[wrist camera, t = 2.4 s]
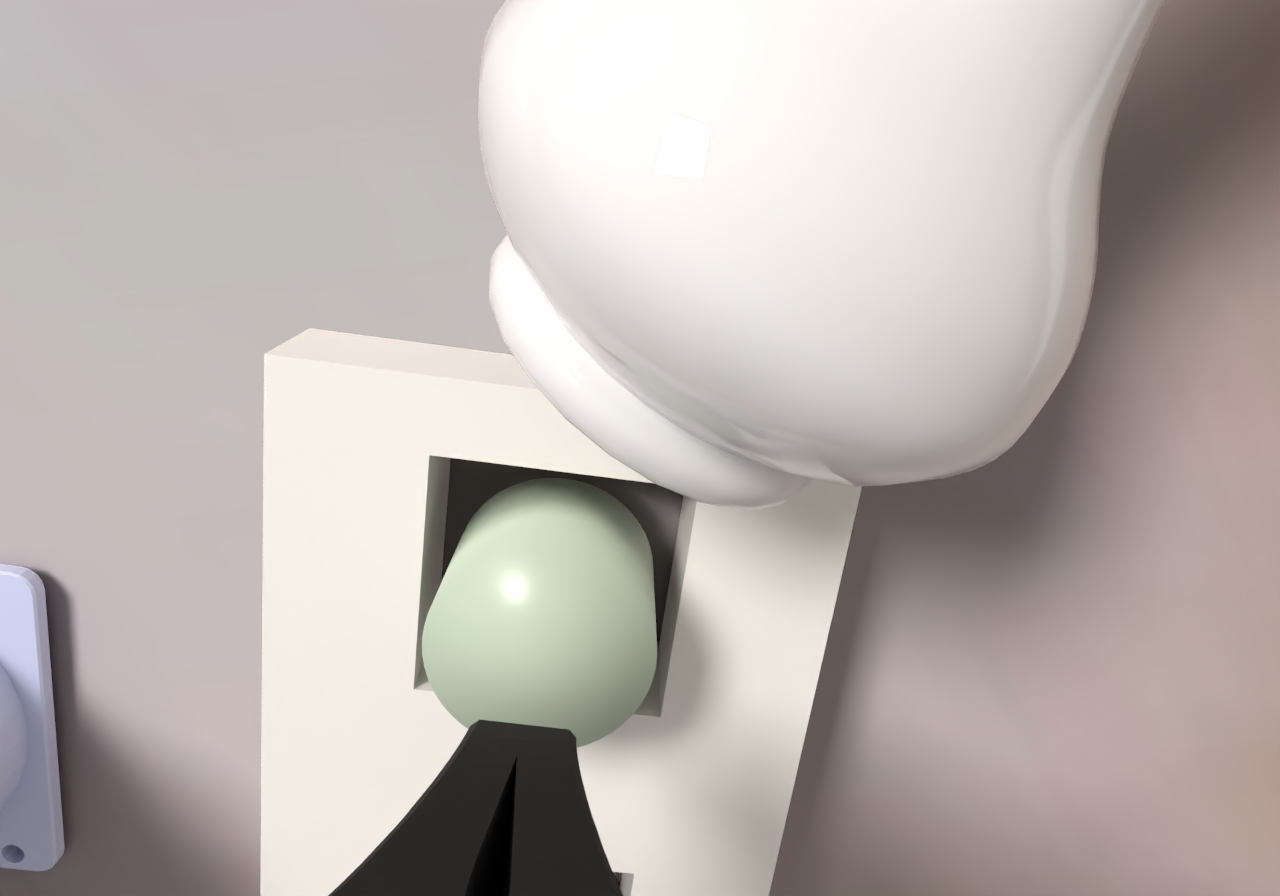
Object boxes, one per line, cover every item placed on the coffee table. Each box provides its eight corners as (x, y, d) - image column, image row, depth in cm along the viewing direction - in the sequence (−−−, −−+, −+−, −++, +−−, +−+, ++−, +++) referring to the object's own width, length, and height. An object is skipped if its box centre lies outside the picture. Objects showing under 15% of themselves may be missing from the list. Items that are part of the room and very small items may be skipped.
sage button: (449, 644, 19) (415, 738, 16) (464, 465, 18) (429, 531, 15) (639, 666, 19) (640, 764, 16) (666, 490, 18) (673, 561, 15)
